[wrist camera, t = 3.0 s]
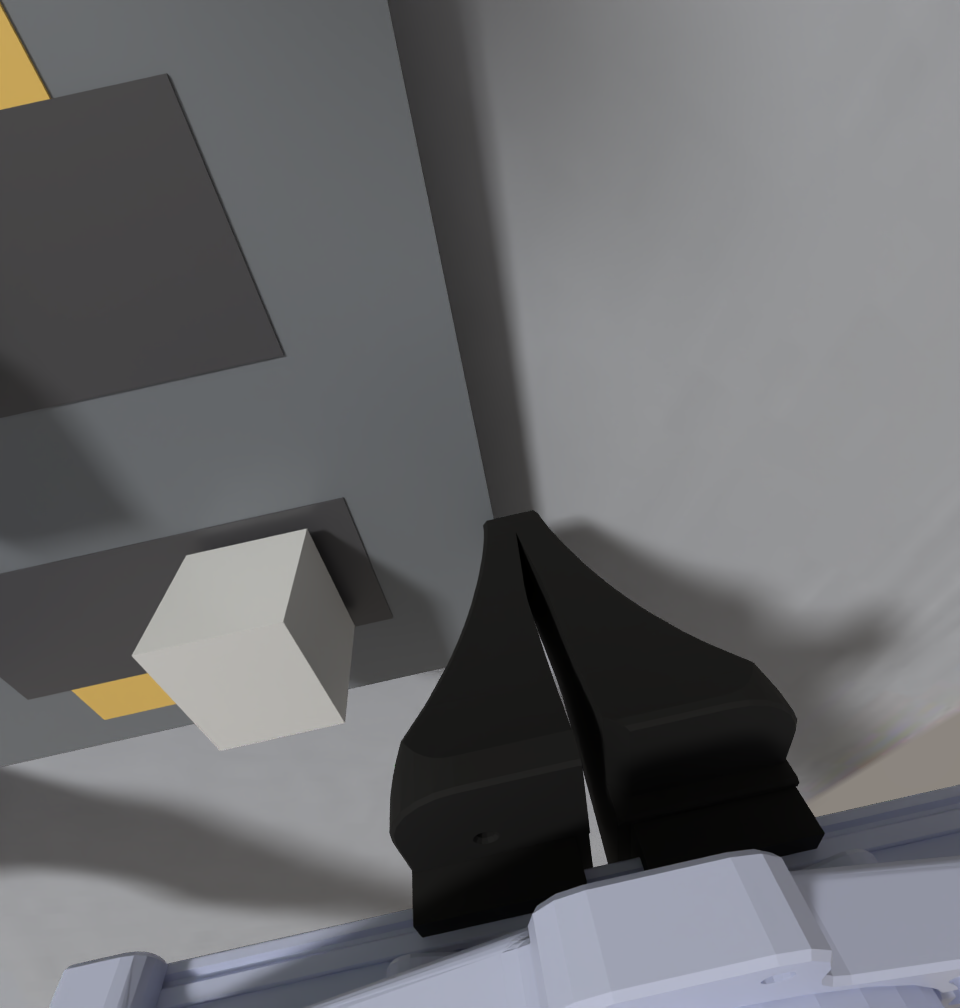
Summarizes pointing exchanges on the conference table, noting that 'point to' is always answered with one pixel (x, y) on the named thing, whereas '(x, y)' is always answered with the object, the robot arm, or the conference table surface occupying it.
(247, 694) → the light grey block
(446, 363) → the switch panel
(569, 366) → the conference table surface
